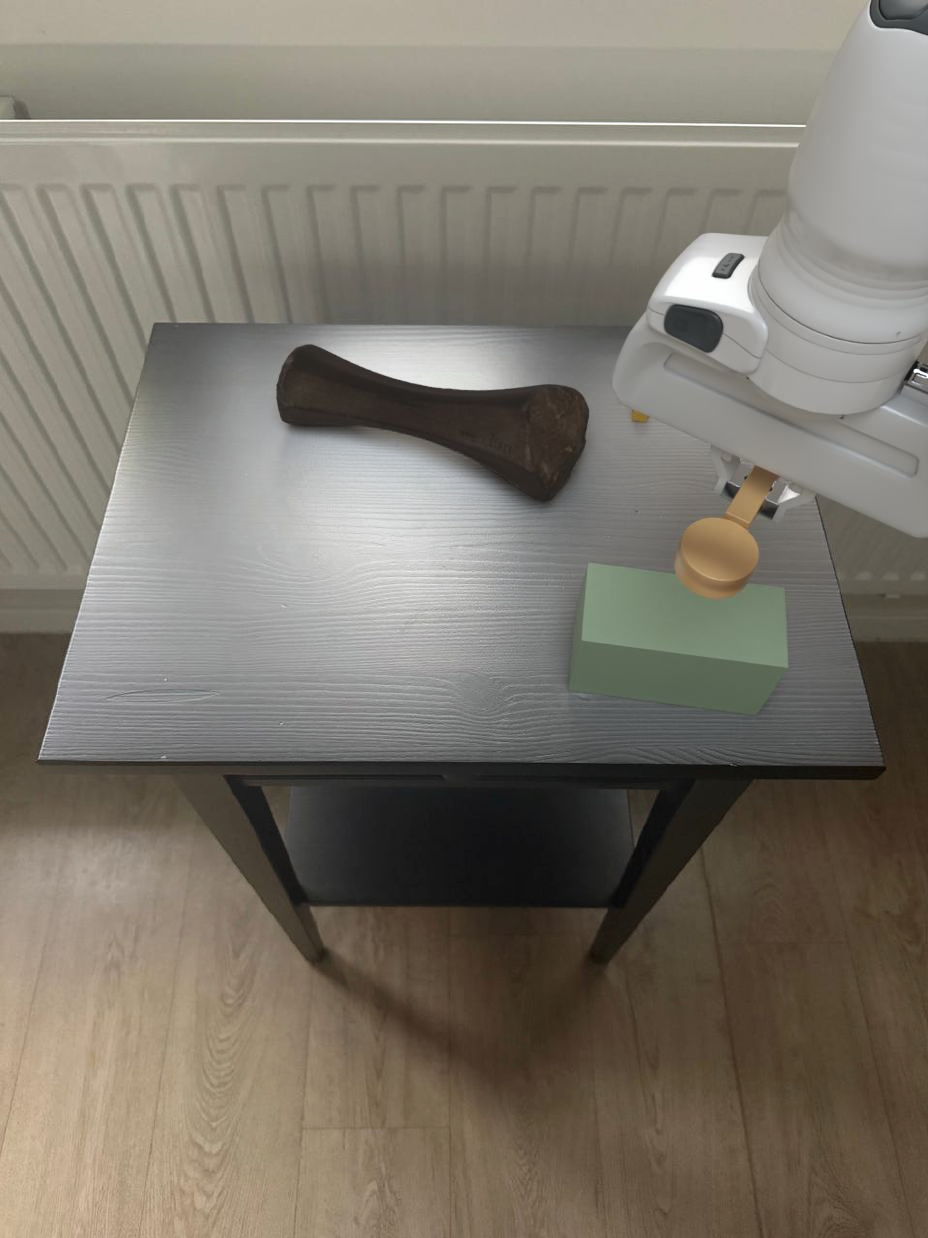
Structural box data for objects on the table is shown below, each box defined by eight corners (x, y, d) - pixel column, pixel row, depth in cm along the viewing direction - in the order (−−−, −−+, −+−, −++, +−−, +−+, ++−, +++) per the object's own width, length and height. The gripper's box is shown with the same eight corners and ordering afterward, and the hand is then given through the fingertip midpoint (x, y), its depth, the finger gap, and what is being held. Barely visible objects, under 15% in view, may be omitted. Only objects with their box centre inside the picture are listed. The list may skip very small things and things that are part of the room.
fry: (648, 371, 94) (651, 360, 93) (646, 422, 91) (648, 412, 89) (634, 369, 94) (637, 358, 93) (631, 420, 91) (634, 410, 89)
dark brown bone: (585, 481, 89) (313, 437, 95) (599, 370, 84) (311, 331, 90) (561, 524, 80) (262, 471, 86) (576, 402, 75) (257, 356, 81)
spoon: (750, 434, 63) (760, 409, 60) (815, 464, 61) (828, 439, 59) (660, 576, 56) (668, 553, 54) (730, 612, 55) (742, 589, 53)
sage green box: (754, 640, 78) (784, 587, 71) (756, 716, 74) (788, 667, 68) (574, 616, 79) (587, 562, 72) (567, 690, 75) (581, 640, 68)
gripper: (1054, 372, 46) (927, 541, 58) (674, 222, 51) (628, 405, 63) (1020, 455, 43) (893, 614, 55) (621, 287, 48) (584, 466, 60)
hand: (749, 501), depth 59 cm, fingers closed on spoon, 2 cm apart
